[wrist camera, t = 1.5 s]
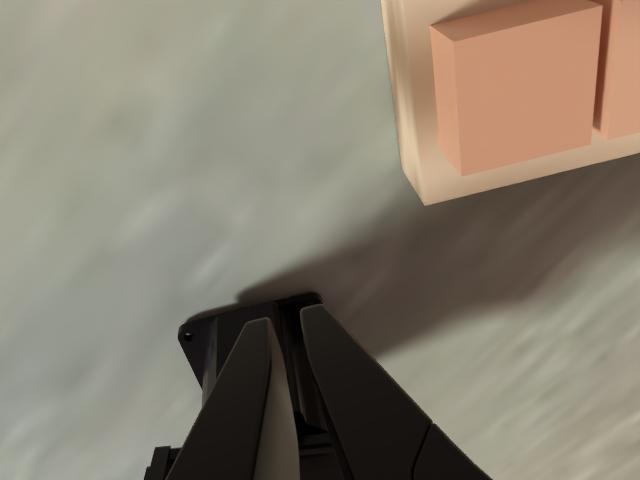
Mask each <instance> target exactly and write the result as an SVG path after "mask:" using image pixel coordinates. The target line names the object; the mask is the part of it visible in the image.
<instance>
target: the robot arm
mask: <svg viewBox="0 0 640 480" xmlns="http://www.w3.org/2000/svg"><path fill="white" fill-rule="evenodd" d="M310 302H314V303H315V304H314V305H311V306H309V305H307V304H308V303H310ZM187 333H192V334H194V335H186V334H187ZM178 340H179V342H180V345H181V347H182V349H183V351H184V353H185V355H186V357H187V359H188V361H189V363H190V365H191V368H192V370H193V372H194V374H195V376H196V378H197V380H198V382H199V384H200V386H201V388H202V391H203V393H202V409H201V411H200V413H199V415H198V417H197V419H196V421H195V423H194V425H193V427H192V429H191V431H190V433H189V435H188V436H187V438H186V440H185V442H184V444H183V446H182V447H180V448H171V446H163V447H155V450H154V454H153V458H152V462H151V466H150V467H147V469H146V473H145V477H144V480H493V479H492V478H490V477H489V476H488V475H487V474H486V473H485V472H484V471H482V470H481V469H480V468H479V467H478V466H477V465H476V464H475V463H474V462H473V461H471V460H470V459H469V458H468V457H467V456H466V455H465V454H464V453H463V452H462V451H461V450H460V449H459V448H458V447H457V446H456V445H455V444H454V443H453V442H452V441H451V440H450V439H449V437H448V436H447V435H446V434H445V433H444V432H443V431H442V430H441V429H440V428H439V427H438V426H437V425H436V424H433V422H432V420H431V419H430V418H429V416H428V415H427V414H426V413H425V412H424V411H423V410H422V409H421V408H420V407H419V406H418V405H417V404H416V403H415V402H414V400H413V399H412V398H411V397H410V396H409V395H408V394H407V393H406V392H405V391H404V390H403V389H402V388H401V387H400V386H399V384H398V383H397V382H396V381H395V380H394V379H393V378H392V377H391V376H390V375H389V374H388V373H387V372H386V371H385V370H384V368H383V367H382V366H381V365H380V364H379V363H378V362H377V361H376V360H375V359H374V358H373V357H372V356H371V355H370V354H369V352H368V351H367V350H366V349H365V348H364V347H363V346H362V345H361V344H360V343H359V342H358V341H357V340H356V339H355V337H354V336H353V335H352V334H351V333H350V332H349V331H348V330H347V329H346V328H345V327H344V326H343V325H342V324H341V323H340V321H339V320H338V319H337V318H336V317H335V316H334V315H333V314H332V313H331V312H330V311H329V310H328V309H327V308H326V307H325V306H324V305H323V302H322V298H321V297H320V295H319V294H317V293H314V292H310V293H305V294H301V295H297V296H293V297H289V298H285V299H281V300H277V301H273V302H269V303H265V304H261V305H257V306H253V307H249V308H245V309H241V310H236V311H232V312H228V313H224V314H220V315H216V316H212V317H208V318H204V319H200V320H196V321H192V322H188V323H185V324H183V325H181V326H180V328H179V330H178Z"/></svg>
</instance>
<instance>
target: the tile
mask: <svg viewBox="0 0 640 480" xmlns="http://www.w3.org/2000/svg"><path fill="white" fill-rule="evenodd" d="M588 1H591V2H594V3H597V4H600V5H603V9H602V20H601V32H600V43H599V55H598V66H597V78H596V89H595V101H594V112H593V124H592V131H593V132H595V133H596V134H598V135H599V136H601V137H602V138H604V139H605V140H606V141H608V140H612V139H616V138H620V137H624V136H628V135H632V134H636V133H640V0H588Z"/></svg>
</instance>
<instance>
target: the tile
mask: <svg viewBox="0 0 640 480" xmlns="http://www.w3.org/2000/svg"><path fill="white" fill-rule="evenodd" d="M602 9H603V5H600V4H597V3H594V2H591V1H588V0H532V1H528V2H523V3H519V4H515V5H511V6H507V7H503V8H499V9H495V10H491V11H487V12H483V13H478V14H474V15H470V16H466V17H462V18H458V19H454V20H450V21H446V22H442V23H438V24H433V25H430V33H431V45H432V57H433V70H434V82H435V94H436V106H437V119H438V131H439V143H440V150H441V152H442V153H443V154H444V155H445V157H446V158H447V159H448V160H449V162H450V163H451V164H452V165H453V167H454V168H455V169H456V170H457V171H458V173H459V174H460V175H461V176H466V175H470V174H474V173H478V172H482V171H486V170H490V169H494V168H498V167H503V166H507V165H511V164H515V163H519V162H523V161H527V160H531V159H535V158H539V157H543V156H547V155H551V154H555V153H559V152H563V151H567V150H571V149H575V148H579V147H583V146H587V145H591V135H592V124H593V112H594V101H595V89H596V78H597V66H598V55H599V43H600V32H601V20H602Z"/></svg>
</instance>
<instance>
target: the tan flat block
mask: <svg viewBox="0 0 640 480" xmlns="http://www.w3.org/2000/svg"><path fill="white" fill-rule="evenodd" d="M528 1H532V0H381V7H382V15H383V23H384V31H385V39H386V47H387V54H388V62H389V70H390V78H391V86H392V94H393V102H394V110H395V117H396V125H397V133H398V141H399V149H400V157H401V165H402V170H403V171H404V173H405V175H406V176H407V178H408V179H409V181H410V183H411V184H412V186H413V188H414V189H415V191H416V192H417V194H418V196H419V197H420V199H421V201H422V202H423V204H424V205H425V206H427V205H431V204H435V203H439V202H443V201H447V200H451V199H455V198H459V197H463V196H467V195H471V194H475V193H479V192H483V191H487V190H491V189H495V188H499V187H503V186H508V185H512V184H516V183H520V182H524V181H528V180H532V179H536V178H540V177H544V176H548V175H552V174H556V173H560V172H564V171H568V170H572V169H576V168H580V167H584V166H588V165H592V164H596V163H600V162H604V161H608V160H612V159H616V158H621V157H625V156H629V155H633V154H637V153H640V133H636V134H632V135H628V136H624V137H620V138H616V139H612V140H608V141H606V140H605V139H604V138H602V137H601V136H599V135H598V134H596V133H595V132H593V131H592V135H591V145H587V146H583V147H579V148H575V149H571V150H567V151H563V152H559V153H555V154H551V155H547V156H543V157H539V158H535V159H531V160H527V161H523V162H519V163H515V164H511V165H507V166H503V167H498V168H494V169H490V170H486V171H482V172H478V173H474V174H470V175H466V176H461V175H460V174H459V173H458V171H457V170H456V169H455V168H454V167H453V165H452V164H451V163H450V162H449V160H448V159H447V158H446V157H445V155H444V154H443V153H442V152H441V150H440V143H439V131H438V119H437V106H436V94H435V82H434V70H433V57H432V45H431V33H430V25H433V24H438V23H442V22H446V21H450V20H454V19H458V18H462V17H466V16H470V15H474V14H478V13H483V12H487V11H491V10H495V9H499V8H503V7H507V6H511V5H515V4H519V3H523V2H528Z"/></svg>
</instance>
